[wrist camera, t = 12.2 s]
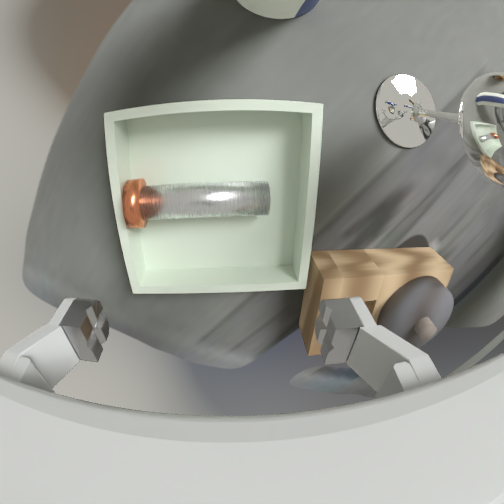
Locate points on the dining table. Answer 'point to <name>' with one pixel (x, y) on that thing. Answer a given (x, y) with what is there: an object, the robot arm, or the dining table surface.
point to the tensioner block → (381, 290)
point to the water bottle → (279, 7)
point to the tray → (219, 170)
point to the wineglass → (448, 119)
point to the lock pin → (193, 200)
